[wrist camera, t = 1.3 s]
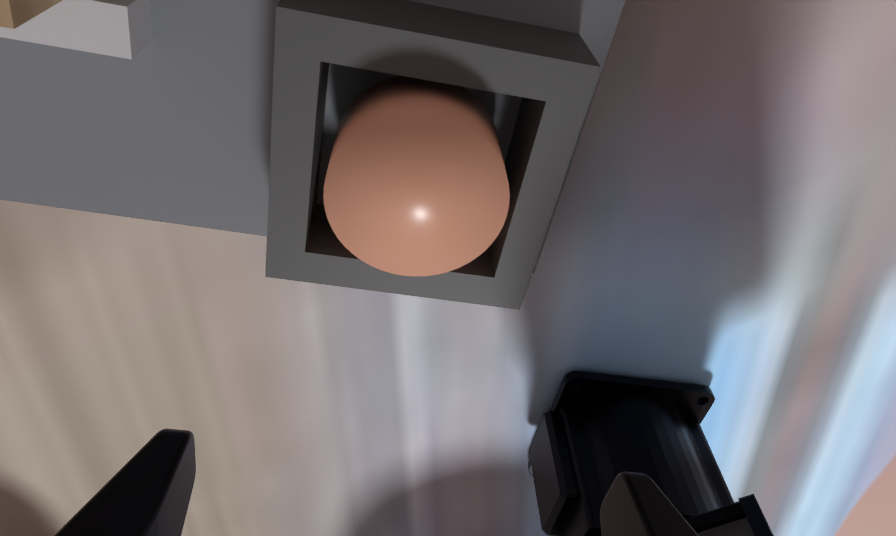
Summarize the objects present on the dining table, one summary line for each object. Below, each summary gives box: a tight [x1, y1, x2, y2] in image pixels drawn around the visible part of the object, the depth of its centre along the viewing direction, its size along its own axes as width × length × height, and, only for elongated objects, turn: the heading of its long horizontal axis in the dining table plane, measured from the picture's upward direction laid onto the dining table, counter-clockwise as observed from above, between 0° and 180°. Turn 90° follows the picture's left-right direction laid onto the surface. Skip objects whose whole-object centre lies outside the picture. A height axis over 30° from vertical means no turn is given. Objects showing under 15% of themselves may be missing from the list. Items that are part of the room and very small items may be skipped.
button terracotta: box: [323, 76, 510, 277], centre depth 17 cm, size 4×4×2 cm
